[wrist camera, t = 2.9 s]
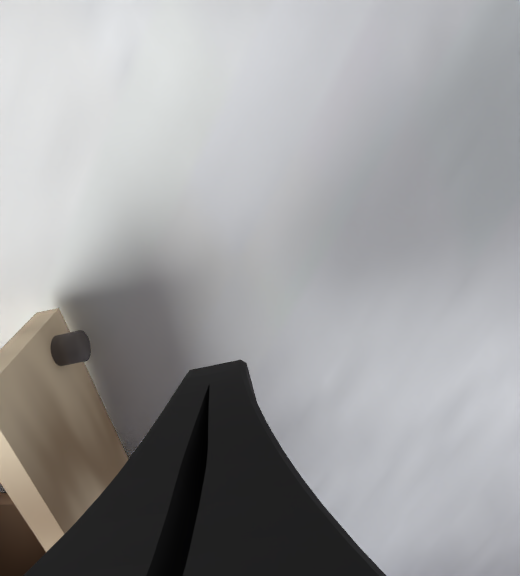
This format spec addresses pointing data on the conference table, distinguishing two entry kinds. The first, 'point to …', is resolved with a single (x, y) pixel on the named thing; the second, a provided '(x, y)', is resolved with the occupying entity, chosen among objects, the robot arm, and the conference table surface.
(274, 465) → the robot arm
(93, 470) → the left door
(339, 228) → the conference table surface
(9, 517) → the box
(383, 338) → the conference table surface
